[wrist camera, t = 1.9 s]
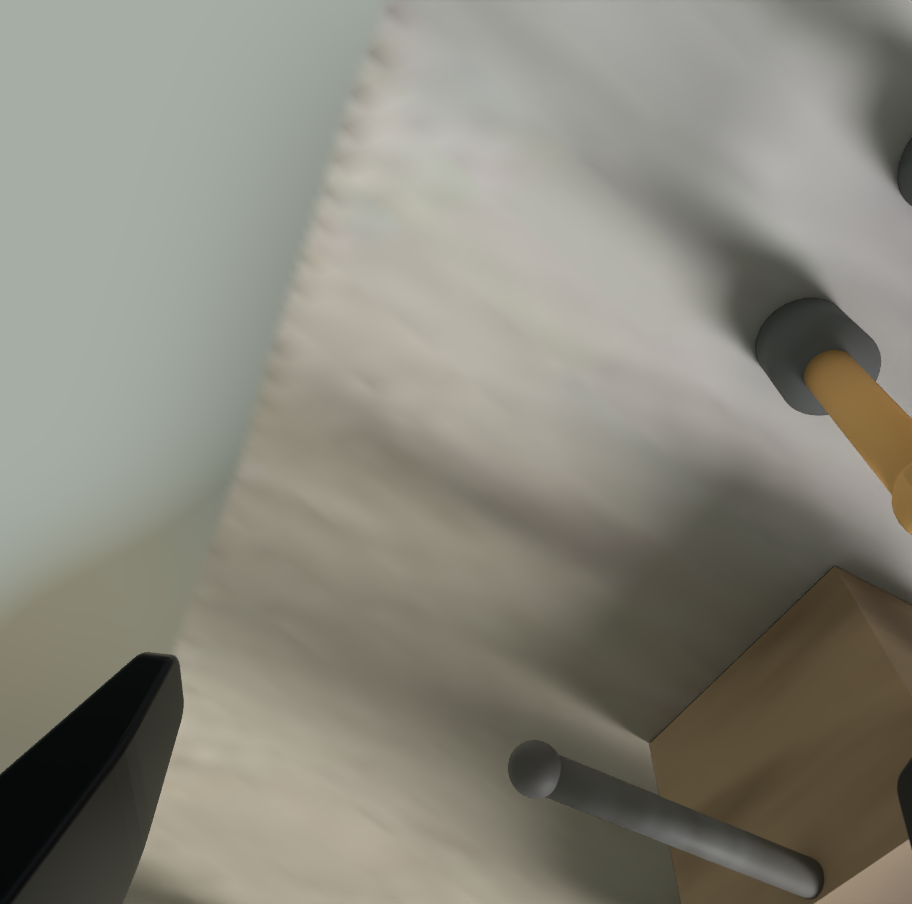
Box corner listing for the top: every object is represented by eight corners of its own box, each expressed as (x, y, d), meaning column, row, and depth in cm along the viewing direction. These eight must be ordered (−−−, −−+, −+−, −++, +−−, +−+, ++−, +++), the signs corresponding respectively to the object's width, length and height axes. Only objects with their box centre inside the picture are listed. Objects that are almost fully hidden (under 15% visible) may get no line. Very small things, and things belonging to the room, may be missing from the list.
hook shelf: (952, 625, 25) (1127, 868, 18) (754, 788, 30) (833, 1032, 23) (594, 443, 23) (638, 649, 15) (437, 655, 27) (416, 886, 20)
